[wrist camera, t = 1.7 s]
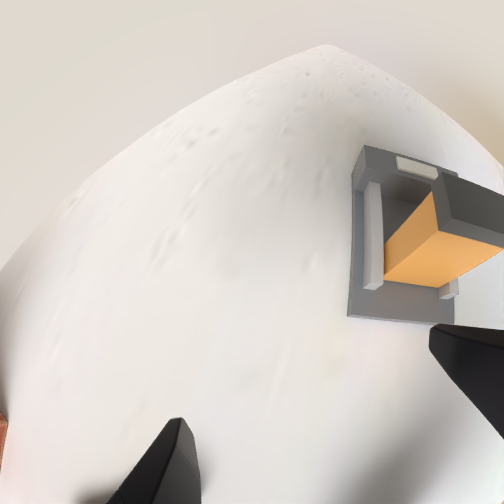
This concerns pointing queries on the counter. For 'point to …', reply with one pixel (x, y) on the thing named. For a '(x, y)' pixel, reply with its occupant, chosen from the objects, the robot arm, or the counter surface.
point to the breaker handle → (446, 234)
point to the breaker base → (379, 232)
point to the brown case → (2, 434)
